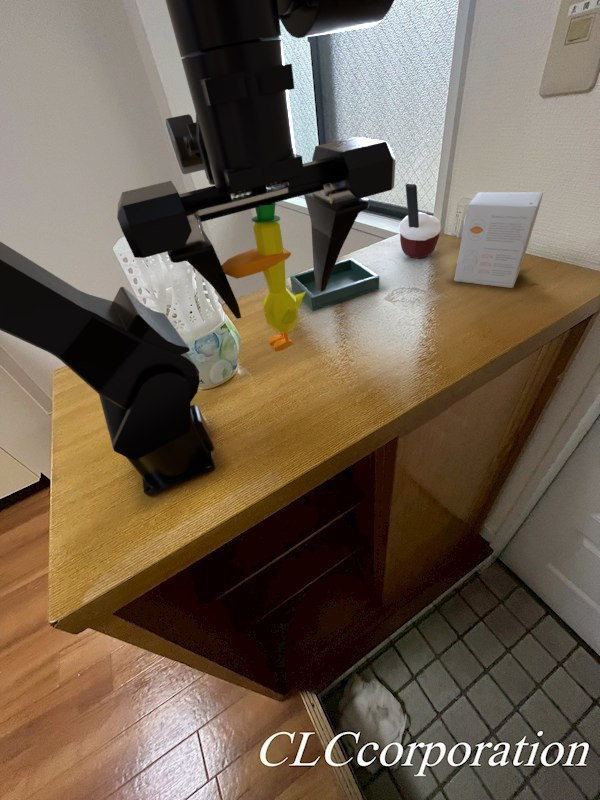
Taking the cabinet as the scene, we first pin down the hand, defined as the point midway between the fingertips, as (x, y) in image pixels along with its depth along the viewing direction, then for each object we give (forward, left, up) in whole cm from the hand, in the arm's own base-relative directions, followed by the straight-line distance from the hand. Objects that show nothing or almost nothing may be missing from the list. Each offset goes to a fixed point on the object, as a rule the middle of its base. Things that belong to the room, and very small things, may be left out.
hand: (280, 302), depth 30 cm
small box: (+34, +10, -12) cm, 37 cm away
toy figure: (-1, 0, -4) cm, 4 cm away
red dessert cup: (+31, +23, -12) cm, 40 cm away
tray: (+14, +20, -11) cm, 27 cm away
